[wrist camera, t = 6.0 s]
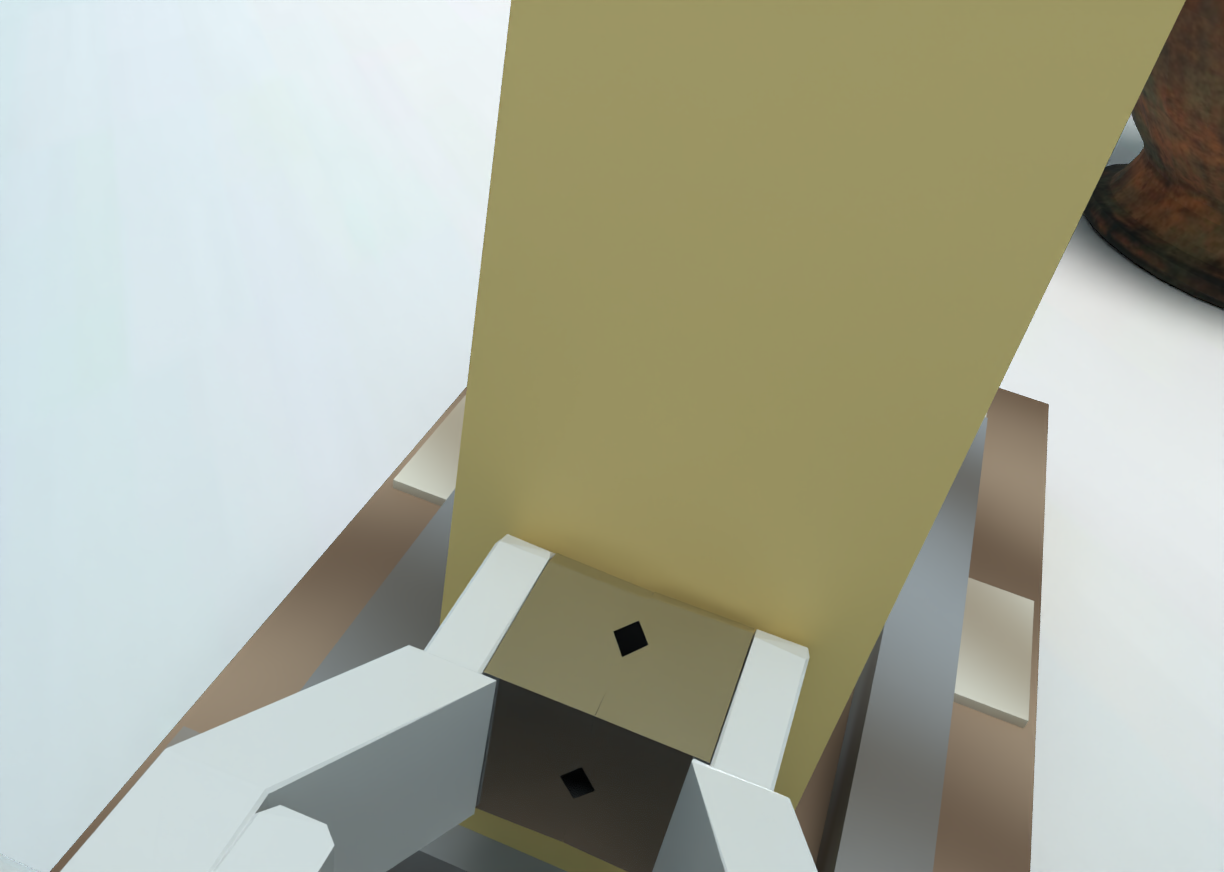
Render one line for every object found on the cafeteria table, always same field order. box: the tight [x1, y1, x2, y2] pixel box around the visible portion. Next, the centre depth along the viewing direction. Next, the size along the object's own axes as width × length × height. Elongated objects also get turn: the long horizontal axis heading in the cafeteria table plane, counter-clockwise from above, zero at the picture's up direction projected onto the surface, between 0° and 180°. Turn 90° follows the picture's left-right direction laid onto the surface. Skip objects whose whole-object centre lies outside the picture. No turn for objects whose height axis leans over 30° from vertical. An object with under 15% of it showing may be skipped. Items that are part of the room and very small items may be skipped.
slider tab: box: [386, 0, 1186, 872], centre depth 11 cm, size 5×4×14 cm
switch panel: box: [50, 387, 1049, 872], centre depth 17 cm, size 26×12×4 cm, turn 160°
